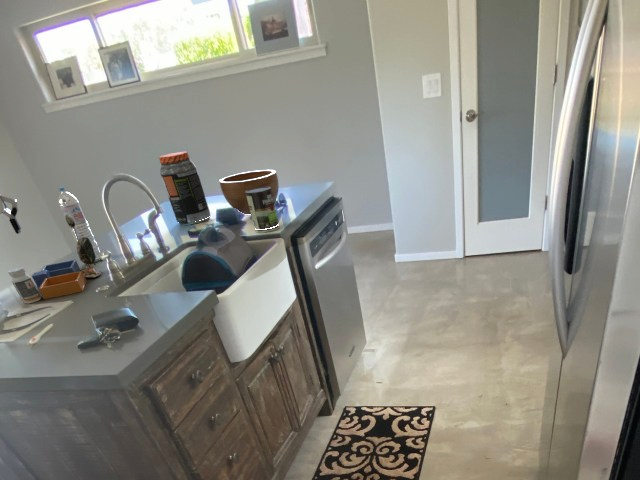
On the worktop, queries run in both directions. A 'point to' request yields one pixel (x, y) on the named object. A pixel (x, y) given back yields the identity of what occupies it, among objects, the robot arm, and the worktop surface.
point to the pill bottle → (24, 285)
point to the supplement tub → (184, 188)
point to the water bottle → (77, 219)
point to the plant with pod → (85, 252)
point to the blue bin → (62, 268)
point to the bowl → (247, 187)
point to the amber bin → (63, 285)
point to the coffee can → (262, 209)
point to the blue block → (40, 277)
